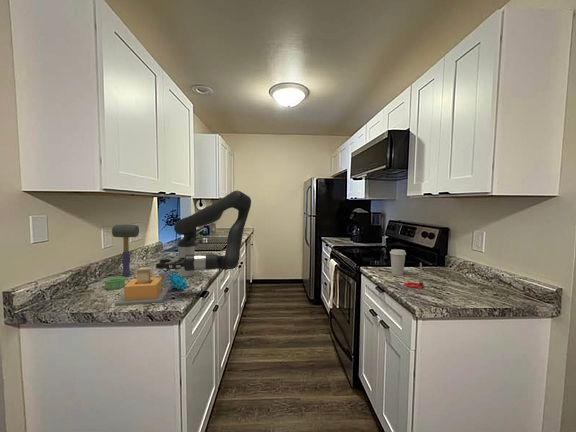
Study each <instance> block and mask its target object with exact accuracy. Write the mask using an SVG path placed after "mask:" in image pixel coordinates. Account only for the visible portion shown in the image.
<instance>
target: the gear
mask: <svg viewBox="0 0 576 432" xmlns="http://www.w3.org/2000/svg"><path fill="white" fill-rule="evenodd" d="M178 275H179V274H178V273H176V274H175V273H174V272H173V273H171V274H170V275H168V277H169V278H168V281H169V284H170V285H172V286H170V289H175V288H176V289H177V290H181V291H183V290H184V289H186V288H187V286H186V285H188V284H187V282H186V280H187V277H184V278H183V277H182V276H178Z"/></svg>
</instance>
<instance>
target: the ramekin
mask: <svg viewBox="0 0 576 432" xmlns="http://www.w3.org/2000/svg"><path fill="white" fill-rule="evenodd" d="M125 282H126V277H124V276H121V275H120V276H113V277H111V276H110V277H107V278H105V279H104V285H105V286H104V287H105V289H106V290H119V289H121V288H124V287H125Z"/></svg>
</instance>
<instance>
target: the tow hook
mask: <svg viewBox="0 0 576 432" xmlns="http://www.w3.org/2000/svg"><path fill="white" fill-rule="evenodd" d="M422 265H423V263H422V262H419V278H418V279H419V281H418V282H409V281H408V282H404V283H403V285H404V287H406V288H413V289H414V288H415V289H419V290H421V289H423V288H424V285H425V284H424V281H423V280H424V278H423V266H422Z"/></svg>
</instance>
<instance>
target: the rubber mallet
mask: <svg viewBox="0 0 576 432" xmlns="http://www.w3.org/2000/svg"><path fill="white" fill-rule="evenodd" d="M111 234H112V237H114V238H123V241H122V242H123V247H122V248H123V251H122V257H121V258H122V272H121V273H122V277H125V278H126V277H130V275H131V268H130V266H131V265H130V262H131V261H130V260H131V254H130V251H129V248H130V247H129V238H137V237H138V236H139V234H140V228H139V225H136V224H115V225H113V226H112V229H111Z"/></svg>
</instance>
